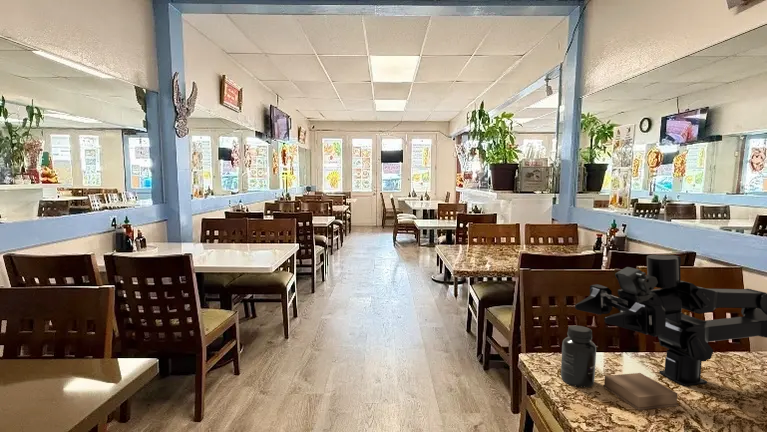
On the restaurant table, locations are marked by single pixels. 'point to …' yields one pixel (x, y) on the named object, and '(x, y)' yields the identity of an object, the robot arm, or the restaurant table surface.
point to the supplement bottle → (578, 357)
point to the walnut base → (640, 391)
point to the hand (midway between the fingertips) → (589, 313)
